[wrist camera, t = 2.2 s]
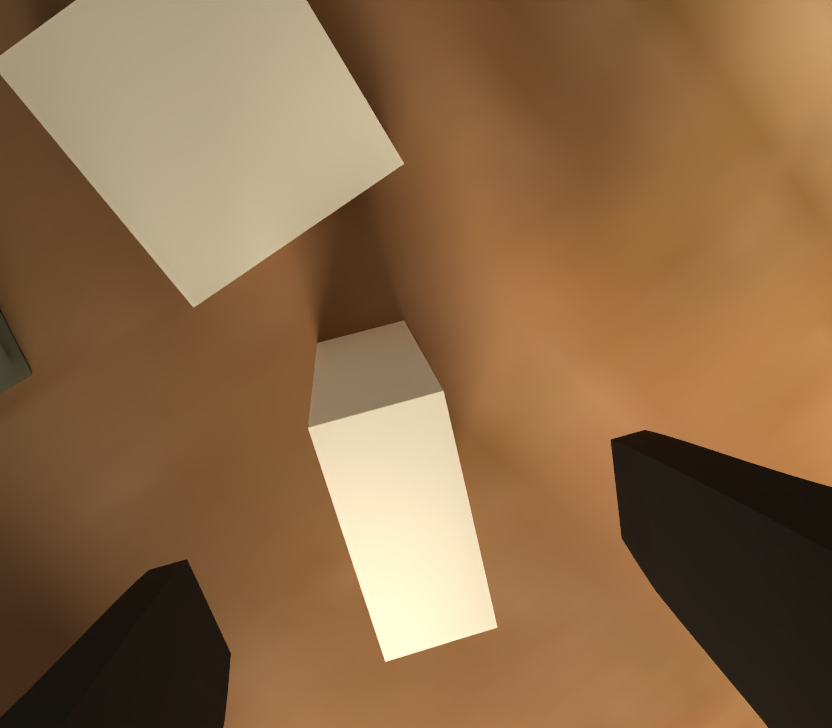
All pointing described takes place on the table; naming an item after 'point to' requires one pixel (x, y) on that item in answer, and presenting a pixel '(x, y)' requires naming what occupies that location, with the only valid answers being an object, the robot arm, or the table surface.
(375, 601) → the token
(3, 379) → the box
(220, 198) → the block
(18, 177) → the table surface
